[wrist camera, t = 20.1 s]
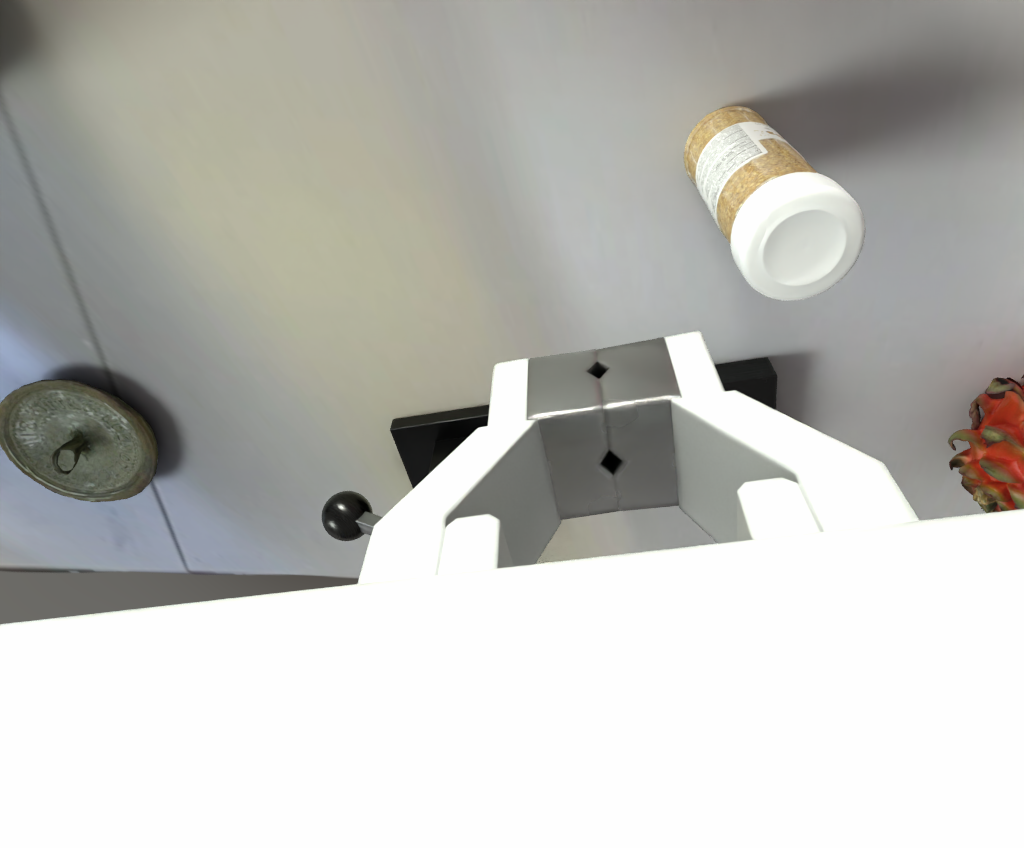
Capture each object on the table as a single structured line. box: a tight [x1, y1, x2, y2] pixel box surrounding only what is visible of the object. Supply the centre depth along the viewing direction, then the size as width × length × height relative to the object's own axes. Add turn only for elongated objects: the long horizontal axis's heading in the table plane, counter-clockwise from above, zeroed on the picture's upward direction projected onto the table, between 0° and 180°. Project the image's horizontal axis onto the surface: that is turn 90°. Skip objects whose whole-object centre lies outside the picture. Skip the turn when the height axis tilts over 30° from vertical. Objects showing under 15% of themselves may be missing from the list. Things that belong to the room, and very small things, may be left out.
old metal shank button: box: [0, 379, 158, 502], centre depth 47 cm, size 11×10×5 cm
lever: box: [322, 491, 383, 541], centre depth 44 cm, size 13×3×3 cm, turn 102°
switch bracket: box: [390, 405, 490, 489], centre depth 44 cm, size 10×8×12 cm
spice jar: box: [684, 106, 865, 301], centre depth 30 cm, size 5×5×14 cm
